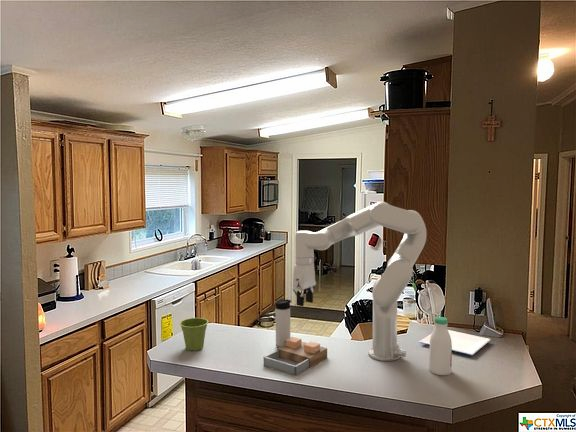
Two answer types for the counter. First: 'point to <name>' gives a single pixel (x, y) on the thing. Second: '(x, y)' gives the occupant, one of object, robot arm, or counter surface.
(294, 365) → the box
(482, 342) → the plate
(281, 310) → the travel mug
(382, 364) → the counter surface
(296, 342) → the tile
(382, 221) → the robot arm
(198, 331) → the plant pot
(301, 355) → the brown piece
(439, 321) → the milk bottle
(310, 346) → the tile
